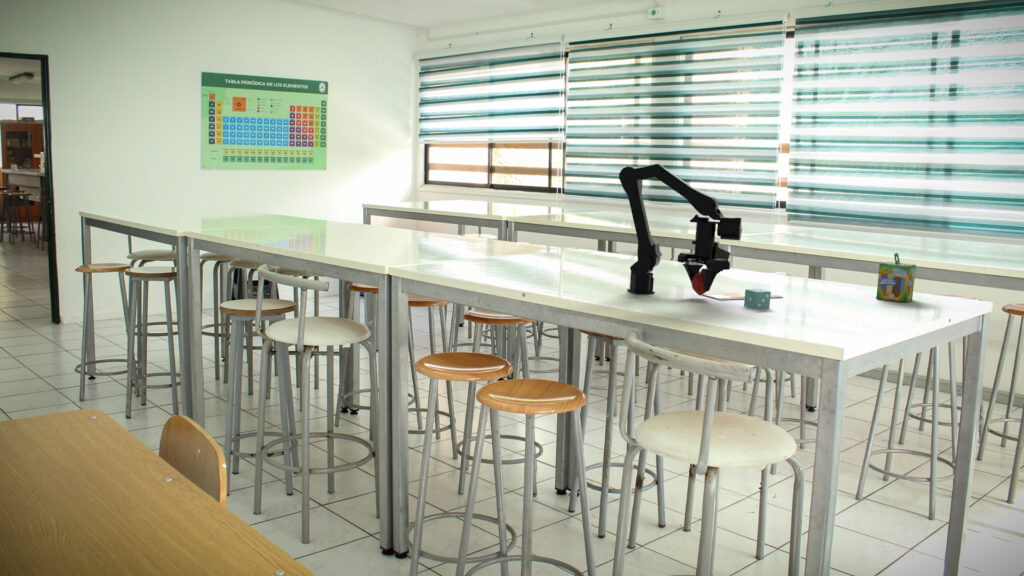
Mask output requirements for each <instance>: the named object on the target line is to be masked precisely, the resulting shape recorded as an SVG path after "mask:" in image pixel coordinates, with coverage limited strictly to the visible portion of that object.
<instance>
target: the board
mask: <svg viewBox="0 0 1024 576" xmlns="http://www.w3.org/2000/svg"><path fill="white" fill-rule="evenodd" d="M702 296H703V297H707V298H710V299H713V300H717V301H737V300H738V301H739V300H740V301H741V300H742V301H744V300H745V292H732V293H731V292H730V293H729V292H727V293H704V294H703V295H702ZM770 299H784V297H783V296H780V295H778V294H773V293H771V296H770Z"/></svg>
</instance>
